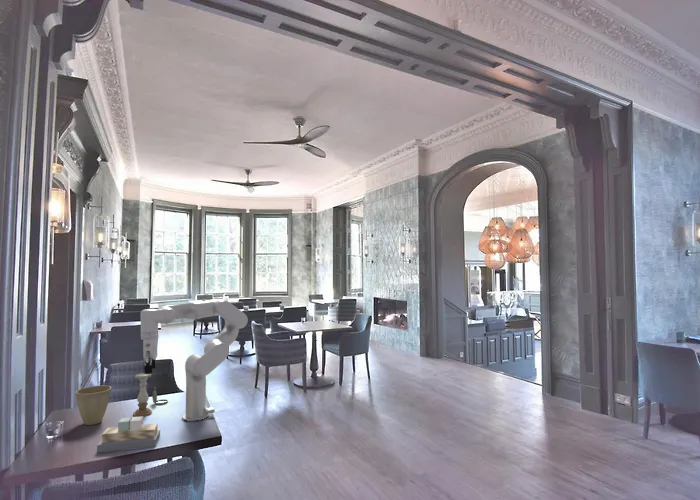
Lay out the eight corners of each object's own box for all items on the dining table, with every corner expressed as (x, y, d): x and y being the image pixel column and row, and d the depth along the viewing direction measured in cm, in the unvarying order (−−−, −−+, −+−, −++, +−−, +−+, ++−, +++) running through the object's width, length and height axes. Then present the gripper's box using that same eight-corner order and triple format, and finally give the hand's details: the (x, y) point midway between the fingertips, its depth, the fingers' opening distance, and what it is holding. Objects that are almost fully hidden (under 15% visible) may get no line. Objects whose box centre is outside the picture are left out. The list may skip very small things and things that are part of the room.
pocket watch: (170, 401, 232) (170, 384, 233) (159, 406, 224) (159, 388, 225) (158, 400, 235) (159, 382, 235) (147, 405, 227) (147, 386, 227)
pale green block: (131, 426, 179) (131, 417, 180) (128, 430, 174) (128, 421, 175) (121, 427, 178) (121, 418, 178) (118, 431, 173) (118, 422, 174)
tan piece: (157, 431, 183) (157, 423, 183) (154, 437, 176) (154, 429, 176) (107, 436, 178) (107, 427, 178) (101, 442, 171) (102, 434, 171)
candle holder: (155, 413, 214) (156, 373, 215) (139, 418, 207) (140, 377, 208) (145, 410, 219) (146, 371, 220) (129, 415, 212) (130, 375, 212)
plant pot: (117, 418, 207) (118, 386, 207) (91, 429, 192) (92, 395, 193) (94, 415, 211) (94, 384, 211) (67, 426, 196) (68, 392, 197)
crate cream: (142, 425, 180) (143, 416, 181) (140, 429, 176) (140, 420, 176) (132, 426, 179) (133, 417, 180) (129, 430, 175) (130, 421, 175)
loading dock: (160, 436, 185) (160, 429, 185) (155, 446, 174) (155, 439, 174) (105, 441, 179) (105, 434, 179) (96, 452, 168) (97, 444, 168)
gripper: (155, 337, 189) (156, 374, 189) (160, 331, 206) (161, 365, 205) (137, 338, 187) (137, 376, 187) (144, 332, 204) (144, 367, 203)
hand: (150, 370), depth 196 cm, fingers open, 9 cm apart
